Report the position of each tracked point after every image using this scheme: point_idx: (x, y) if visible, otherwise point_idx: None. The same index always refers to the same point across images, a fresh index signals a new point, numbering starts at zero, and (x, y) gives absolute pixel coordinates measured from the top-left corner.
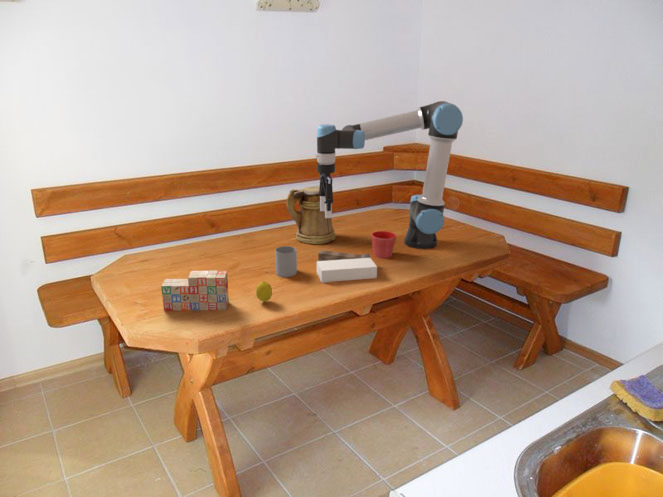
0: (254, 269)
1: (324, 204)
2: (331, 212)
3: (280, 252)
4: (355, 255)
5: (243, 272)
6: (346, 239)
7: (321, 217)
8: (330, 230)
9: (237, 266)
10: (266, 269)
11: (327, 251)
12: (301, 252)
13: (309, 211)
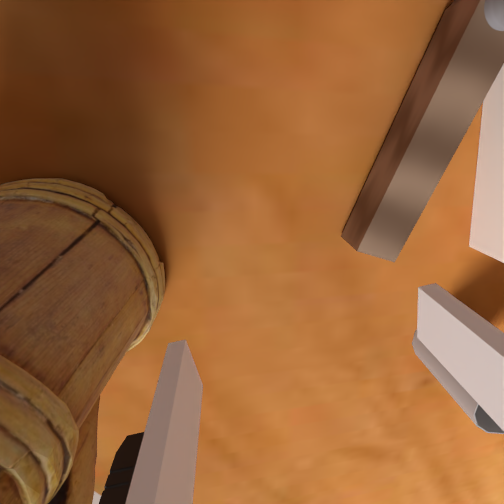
0: (396, 411)
1: (181, 417)
2: (482, 318)
3: (459, 402)
4: (464, 70)
5: (412, 429)
6: (37, 110)
7: (75, 318)
8: (71, 219)
9: (368, 447)
10: (402, 386)
11: (378, 223)
12: (256, 311)
13: (77, 426)
